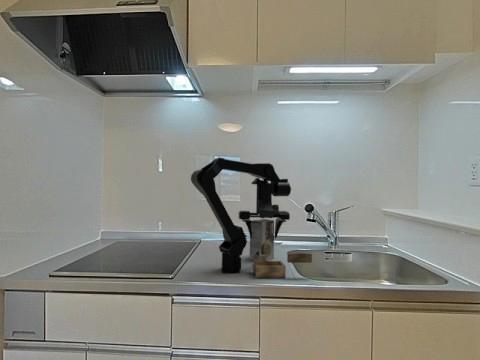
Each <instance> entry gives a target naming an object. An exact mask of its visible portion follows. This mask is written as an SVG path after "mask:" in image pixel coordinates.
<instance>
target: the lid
mask: <svg viewBox="0 0 480 360" xmlns="http://www.w3.org/2000/svg"><path fill="white" fill-rule="evenodd" d="M259 261H267V260H266V256H265V255H259ZM251 266H252V267H253V263H252V264H251Z"/></svg>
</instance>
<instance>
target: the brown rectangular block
mask: <svg viewBox="0 0 480 360" xmlns="http://www.w3.org/2000/svg"><path fill="white" fill-rule="evenodd" d="M286 258H287V259H286V260H287V261H286V262H287V263H290V264H292V263H293V264H294V263H295V264H297V263H298V264H301V263H303V264H304V263H305V264H307V263H312V262H313V261H312V260H313V253H311V252H287V253H286Z"/></svg>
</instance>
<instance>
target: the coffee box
mask: <svg viewBox="0 0 480 360" xmlns="http://www.w3.org/2000/svg"><path fill="white" fill-rule="evenodd" d="M251 229H252V238H251V237H250V236H249V260H250V261H259V255H265V256H266V261H270V260H272V259H274V258H275V254H274V252H275V220H273V219H269V218H260V219H253V220H251Z"/></svg>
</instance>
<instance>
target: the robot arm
mask: <svg viewBox="0 0 480 360" xmlns="http://www.w3.org/2000/svg"><path fill="white" fill-rule="evenodd" d="M223 170H224V171H229V172H235V173H236V172H237V173H243V174H244V173H245V174H247V175H250V176H252V177H254V179H253V181H251V185H256V199H255V200H256V202H255V203H256V204H255V205H256V206H255V207H256V209H255V212H251V211H250V210H240V211H238V219H239V220H241V221H242V222H244V223H245V225H246V227H247V230H248V233H249V238H250V237H251V238H252V229H251V221H252V220H251V218H260V219H273V218H275V222H274V239H277V237H278V234H279V231H280V229H281V227H282V225H283V223H286V222H287V220H288V221H289V220H290V217H291V214H290V212H289V211H287V210H280V209H279V208H280V206H279V204H273V201H272V200H273V199H272V198H273V197H289V196H290V195H291V192H292V187H291V185H290V182H289V179H288V178H280V177H279V175H278V174H277V172H276V171H275V167H274V165H273V164H272V163H270V162H264V163H250V162H244V161H239V160H233V159H227V158H225V157H217V158H214V159H213V160H212V161H211V162H209V163H208V164H206V165H205V166H203V167H202V168H201V169H197V170H195V171H193V172H192V173H191V176H190V181H191V183H192V184H193V186H194V187H195V189H196V190H197V191H199V193H201V195H203V197H204V199H205V200H206V201H207V204H208V206H209V207H210V210H211V211H212V212H213V215H214V217H215V218H216V220H217V222H218V224H219V225H220V227H221V229H222V236H223V242H222V243H221V244H219V246H218V249H219V252H220V253H221V267H220V269H221V273H223V274H224V273H230V274H231V273H232V274H233V273H236V274H237V273H241V271H242V258H241V256H242V255H243V252H244V249H245V248H246V246H247V243H248V240H247V237H248V235H246V233H245V232H244V229H243V227H242V226H239V225H235V224H234V222H233V220H232V218H231V216H230V214H229V213H228V211H227V209H226V207H225V206H224V203H223V202H222V200H221V197H220V196H219V195H218V193H217V189H216V182H215V178H217V177H218V176H219V174H220V173H221V172H222V171H223ZM272 196H273V197H272Z"/></svg>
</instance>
